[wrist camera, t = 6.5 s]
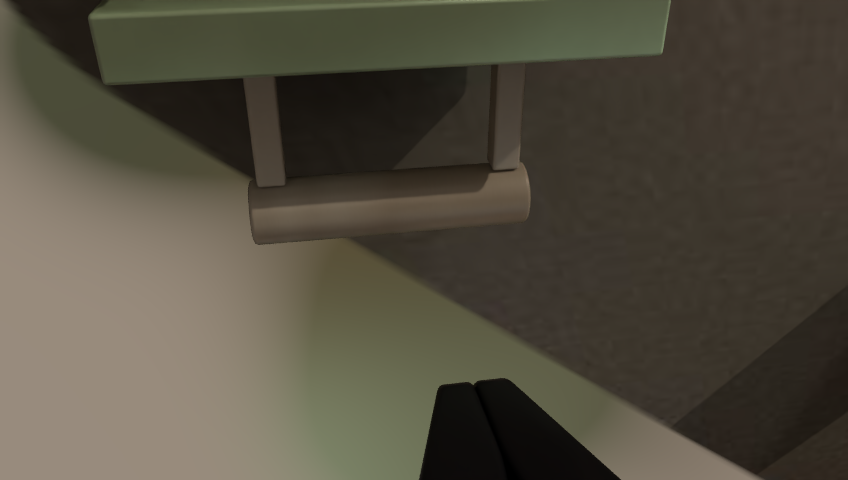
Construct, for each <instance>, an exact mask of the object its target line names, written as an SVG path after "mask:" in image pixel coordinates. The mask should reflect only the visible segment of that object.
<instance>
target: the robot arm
mask: <svg viewBox="0 0 848 480" xmlns="http://www.w3.org/2000/svg"><path fill="white" fill-rule="evenodd" d="M419 480H621V479H620V478H619V477H617V476H616V475H615V474H614V473H613V472H612V471H611V470H610V469H608V468H607V467H606V466H605V465H604V464H603V463H602V462H601V461H600V460H598V459H597V458H596V457H595V456H594V455H592V453H591V452H590V451H588V450H587V449H586V448H585V447H584V446H583V445H582V444H580V443H579V442H578V441H577V440H576V439H575V438H574V437H573V436H572V435H571V434H569V433H568V432H567V431H566V430H565V429H564V428H563V427H562V426H560V425H559V424H558V423H557V422H556V421H555V420H554V419H553V418H552V417H550V416H549V415H548V414H547V413H546V412H545V411H544V410H542V408H540V407H539V406H538V405H537V404H536V403H535V402H534V401H533V400H531V399H530V398H529V397H528V396H527V395H526V394H525V393H524V392H523V391H521V390H520V389H519V388H518V387H517V386H516V385H515V384H514V383H512V382H511V381H510V380H508V379H505V378H499V379H490V380H481V381H477V382H476V383H475V384H474V385H472V384H471V383H469V382H464V383H455V384H445V385H441V386H440V387H439V388H438V391H437V395H436V400H435V405H434V410H433V414H432V419H431V424H430V429H429V434H428V439H427V444H426V449H425V454H424V458H423V463H422V468H421V474H420V478H419Z"/></svg>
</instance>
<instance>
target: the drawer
mask: <svg viewBox="0 0 848 480" xmlns="http://www.w3.org/2000/svg"><path fill="white" fill-rule="evenodd" d="M670 3H671V0H102V1H101V2H100V3H99V4H98V5H97V6H96V7H95V9H94V10H93V11H92V12H91V13H90V14H89V16H88V22H89V27H90V31H91V35H92V40H93V44H94V48H95V52H96V57H97V61H98V65H99V70H100V74H101V78H102V81H103V83H104V84H105V85H125V84H143V83H162V82H180V81H199V80H217V79H236V78H243V83H244V91H245V98H246V106H247V113H248V121H249V129H250V136H251V144H252V151H253V159H254V167H255V174H256V180H252V181H250V183H249V187H248V200H249V201H248V202H249V214H250V224H251V231H252V236H253V240H254V242H255V244H258V245H261V244H274V243H285V242H298V241H310V240H322V239H334V238H346V237H358V236H370V235H382V234H394V233H406V232H418V231H430V230H442V229H455V228H467V227H479V226H491V225H503V224H515V223H523V222H524V221H526V220H527V218H528V215H529V210H530V201H531V195H530V184H529V178H528V174H527V171H526V168H525V166H524V164H523V163H522V162H519V158H520V144H521V129H522V115H523V100H524V85H525V71H526V63H534V62H552V61H571V60H589V59H608V58H627V57H645V56H659V55H661V54H662V52H663V46H664V39H665V33H666V27H667V21H668V15H669V9H670ZM478 65H491V87H490V109H489V132H488V154H487V159H488V161H489V163H480V164H466V165H452V166H438V167H424V168H410V169H397V170H383V171H369V172H355V173H341V174H327V175H313V176H299V177H286V168H285V158H284V149H283V140H282V131H281V121H280V112H279V103H278V94H277V84H276V76H292V75H310V74H329V73H348V72H366V71H385V70H403V69H422V68H441V67H459V66H478Z"/></svg>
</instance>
